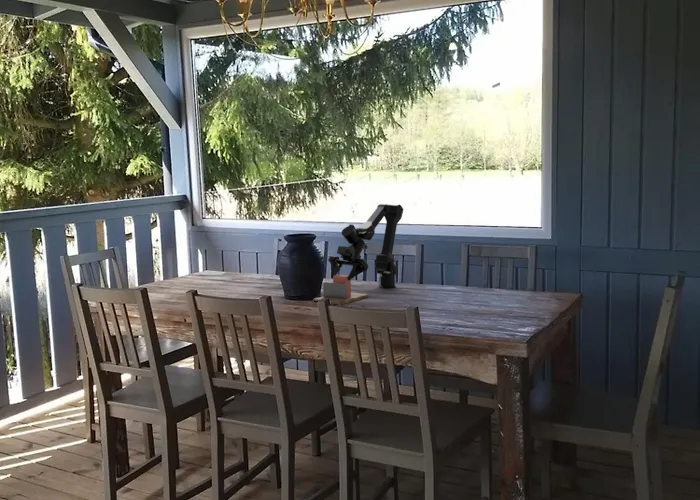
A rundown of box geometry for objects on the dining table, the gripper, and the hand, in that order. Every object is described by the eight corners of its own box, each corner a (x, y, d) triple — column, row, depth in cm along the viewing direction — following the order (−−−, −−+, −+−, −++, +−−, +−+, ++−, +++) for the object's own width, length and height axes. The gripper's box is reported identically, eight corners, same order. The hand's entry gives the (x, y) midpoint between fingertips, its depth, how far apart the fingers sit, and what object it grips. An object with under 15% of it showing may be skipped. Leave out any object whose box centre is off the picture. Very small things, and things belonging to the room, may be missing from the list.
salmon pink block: (339, 294, 307) (338, 274, 306) (351, 296, 303) (350, 275, 302) (333, 296, 304) (333, 275, 303) (345, 297, 300) (344, 277, 299)
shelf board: (342, 293, 315) (342, 291, 315) (367, 297, 307) (367, 294, 307) (313, 301, 300) (313, 298, 300) (338, 305, 291) (338, 302, 291)
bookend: (325, 296, 304) (324, 281, 303) (346, 299, 297) (346, 284, 296) (323, 296, 303) (323, 282, 302) (345, 299, 296) (344, 284, 295)
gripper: (330, 237, 310) (314, 265, 302) (363, 240, 298) (348, 269, 291) (341, 253, 317) (326, 281, 310) (375, 256, 305) (360, 285, 298)
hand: (339, 278), depth 302 cm, fingers open, 9 cm apart
